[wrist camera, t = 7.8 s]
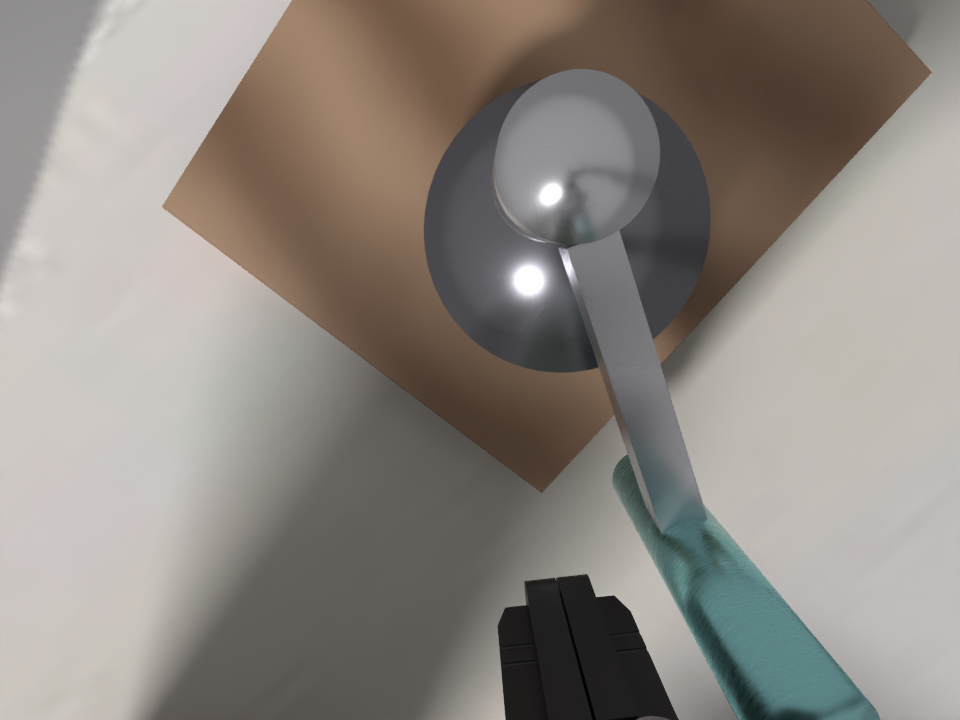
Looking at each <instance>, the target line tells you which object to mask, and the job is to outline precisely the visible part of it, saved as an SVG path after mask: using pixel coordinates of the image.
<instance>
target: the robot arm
mask: <svg viewBox="0 0 960 720" xmlns="http://www.w3.org/2000/svg"><path fill="white" fill-rule="evenodd" d="M524 584H525V596H526V605H525V606H516V607H507V608H505V610H504V612H503V614H502V617H501V619H500V622H499V624H498V635H499V647H500V659H501V670H502V682H503V694H504V705H505V717H506V720H679V719H678V718H677V716H676V714H675V711H674V709H673V707H672V705H671V702H670V700H669V698H668V695H667V693H666V691H665V689H664V686H663V684H662V682H661V680H660V677H659V675H658V673H657V670H656V668H655V666H654V664H653V661H652V659H651V657H650V655H649V652H648V651H647V649H646V645H645V643H644V641H643V639H642V636H641V635H640V633H639V630H638V627H637V625H636V623H635V620H634V618H633V616H632V614H631V611H630V610H629V609H628V608H627V607H626V606H624V605H623V604H622V603H621V602H620V601H619V600H618V599H617V598H616V597H615V596H605V597H596V596H595V593H594V590H593V587H592V585H591V582H590V579H589V577H588V575H587V574H585V575H576V576H567V577H558V578H556V580H555V578H550V579H540V580H531V581H525V582H524Z"/></svg>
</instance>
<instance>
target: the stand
mask: <svg viewBox="0 0 960 720" xmlns="http://www.w3.org/2000/svg"><path fill="white" fill-rule="evenodd" d="M572 69H590V70H597V71H601V72H605V73H608V74H610V75H612V76H615V77H617V78H618V79H620V80H622V81H623V82H625V83H626V84H628V85H629V86H630V87H631V88H632V89H634V90H635V91H636V92H638V93H640V94H641V95H643V96H645V97H646V98H648V99H650V100H651V101H653V102H654V103H655V104H656V105H658V106H659V107H660V108H661V109H662V110H664V111H665V112H666V113H667V114H668V115H669V116H670V117H671V118H672V119H673V120H674V122H675V123H676V124H677V125H678V126H679V127H680V128H681V130H682V131H683V133H684V134H685V136H686V137H687V139H688V140H689V141H690V143H691V144H692V147H693V149H694V151H695V153H696V155H697V157H698V159H699V161H700V163H701V166H702V169H703V172H704V175H705V178H706V182H707V187H708V193H709V198H710V211H711V226H710V239H709V244H708V249H707V254H706V259H705V262H704V265H703V268H702V271H701V274H700V277H699V279H698V281H697V283H696V285H695V287H694V289H693V291H692V293H691V295H690V297H689V298H688V300H687V301H686V303H685V305H684V306H683V308H682V309H681V311H680V312H679V313H678V314H677V316H676V317H675V318H674V319H673V320H672V322H671V323H670V324H669V325H668V326H667V327H666V328H665V329H664V330H663V331H662V332H661V333H660V334H659V335H658V336H657V337H656V338H654V339H653V342H654V345H655V349H656V352H657V355H658V358H659V362H660V365H661V364H662V363H663V361H664V360H665V359H666V358H667V357H668V356H669V355H670V354H671V353H672V352H673V351H674V350H675V349H676V347H677V346H678V345H679V344H680V343H681V342H682V341H683V340H684V339H685V338H686V337H687V336H688V335H689V333H690V332H691V331H692V330H693V329H694V328H695V327H696V326H697V325H698V324H699V323H700V322H701V321H702V319H703V318H704V317H705V316H706V315H707V314H708V313H709V312H710V311H711V310H712V309H713V308H714V307H715V305H716V304H717V303H718V302H719V301H720V300H721V299H722V298H723V297H724V296H725V295H726V294H727V293H728V291H729V290H730V289H731V288H732V287H733V286H734V285H735V284H736V283H737V282H738V281H739V280H740V279H741V277H742V276H743V275H744V274H745V273H746V272H747V271H748V270H749V269H750V268H751V267H752V266H753V265H754V263H755V262H756V261H757V260H758V259H759V258H760V257H761V256H762V255H763V254H764V253H765V252H766V251H767V249H768V248H769V247H770V246H771V245H772V244H773V243H774V242H775V241H776V240H777V239H778V238H779V236H780V235H781V234H782V233H783V232H784V231H785V230H786V229H787V228H788V227H789V226H790V225H791V224H792V222H793V221H794V220H795V219H796V218H797V217H798V216H799V215H800V214H801V213H802V212H803V211H804V210H805V208H806V207H807V206H808V205H809V204H810V203H811V202H812V201H813V200H814V199H815V198H816V197H817V196H818V194H819V193H820V192H821V191H822V190H823V189H824V188H825V187H826V186H827V185H828V184H829V183H830V182H831V180H832V179H833V178H834V177H835V176H836V175H837V174H838V173H839V172H840V171H841V170H842V169H843V168H844V166H845V165H846V164H847V163H848V162H849V161H850V160H851V159H852V158H853V157H854V156H855V155H856V154H857V152H858V151H859V150H860V149H861V148H862V147H863V146H864V145H865V144H866V143H867V142H868V141H869V140H870V138H871V137H872V136H873V135H874V134H875V133H876V132H877V131H878V130H879V129H880V128H881V127H882V126H883V124H884V123H885V122H886V121H887V120H888V119H889V118H890V117H891V116H892V115H893V114H894V113H895V112H896V110H897V109H898V108H899V107H900V106H901V105H902V104H903V103H904V102H905V101H906V100H907V99H908V97H909V96H910V95H911V94H912V93H913V92H914V91H915V90H916V89H917V88H918V87H919V86H920V85H921V83H922V82H923V81H924V80H925V79H926V78H927V77H928V76H929V75H930V74H931V73H932V72H931V71H930V70H929V69H928V68H927V66H926V65H925V64H924V63H923V62H922V61H921V60H920V59H919V58H918V57H917V55H916V54H915V53H914V52H913V51H912V50H911V49H910V48H909V47H908V45H907V44H906V43H905V42H904V41H903V40H902V39H901V38H900V37H899V36H898V34H897V33H896V32H895V31H894V30H893V29H892V28H891V27H890V26H889V25H888V23H887V22H886V21H885V20H884V19H883V18H882V17H881V16H880V15H879V14H878V12H877V11H876V10H875V9H874V8H873V7H872V6H871V5H870V4H869V3H868V1H867V0H292V1H291V3H290V5H289V6H288V8H287V9H286V11H285V13H284V14H283V16H282V17H281V19H280V20H279V22H278V24H277V25H276V27H275V28H274V30H273V32H272V33H271V35H270V36H269V38H268V39H267V41H266V43H265V44H264V46H263V47H262V49H261V51H260V52H259V54H258V55H257V57H256V59H255V60H254V62H253V63H252V65H251V66H250V68H249V70H248V71H247V73H246V74H245V76H244V78H243V79H242V81H241V82H240V84H239V85H238V87H237V89H236V90H235V92H234V93H233V95H232V97H231V98H230V100H229V101H228V103H227V104H226V106H225V108H224V109H223V111H222V112H221V114H220V116H219V117H218V119H217V120H216V122H215V123H214V125H213V127H212V128H211V130H210V131H209V133H208V135H207V136H206V138H205V139H204V141H203V142H202V144H201V146H200V147H199V149H198V150H197V152H196V154H195V155H194V157H193V158H192V160H191V162H190V163H189V165H188V166H187V168H186V169H185V171H184V173H183V174H182V176H181V177H180V179H179V181H178V182H177V184H176V185H175V187H174V188H173V190H172V192H171V193H170V195H169V196H168V198H167V200H166V201H165V203H164V204H163V206H162V207H163V208H164V209H165V210H167V211H168V212H169V213H171V214H172V215H173V216H175V217H176V218H177V219H179V220H180V221H181V222H183V223H184V224H185V225H187V226H188V227H189V228H191V229H192V230H193V231H195V232H196V233H197V234H199V235H200V236H201V237H203V238H204V239H205V240H206V241H208V242H209V243H210V244H212V245H213V246H214V247H216V248H217V249H218V250H220V251H221V252H222V253H224V254H225V255H226V256H228V257H229V258H230V259H232V260H233V261H234V262H236V263H237V264H238V265H240V266H241V267H242V268H244V269H245V270H246V271H248V272H249V273H250V274H252V275H253V276H254V277H256V278H257V279H258V280H260V281H261V282H262V283H264V284H265V285H266V286H268V287H269V288H270V289H272V290H273V291H274V292H276V293H277V294H278V295H280V296H281V297H282V298H284V299H285V300H286V301H288V302H289V303H290V304H292V305H293V306H294V307H296V308H297V309H298V310H300V311H301V312H302V313H303V314H305V315H306V316H307V317H309V318H310V319H311V320H313V321H314V322H315V323H317V324H318V325H319V326H321V327H322V328H323V329H325V330H326V331H327V332H329V333H330V334H331V335H333V336H334V337H335V338H337V339H338V340H339V341H341V342H342V343H343V344H345V345H346V346H347V347H349V348H350V349H351V350H353V351H354V352H355V353H357V354H358V355H359V356H361V357H362V358H363V359H365V360H366V361H367V362H369V363H370V364H371V365H373V366H374V367H375V368H377V369H378V370H379V371H381V372H382V373H383V374H385V375H386V376H387V377H389V378H390V379H391V380H393V381H394V382H395V383H397V384H398V385H399V386H400V387H402V388H403V389H404V390H406V391H407V392H408V393H410V394H411V395H412V396H414V397H415V398H416V399H418V400H419V401H420V402H422V403H423V404H424V405H426V406H427V407H428V408H430V409H431V410H432V411H434V412H435V413H436V414H438V415H439V416H440V417H442V418H443V419H444V420H446V421H447V422H448V423H450V424H451V425H452V426H454V427H455V428H456V429H458V430H459V431H460V432H462V433H463V434H464V435H466V436H467V437H468V438H470V439H471V440H472V441H474V442H475V443H476V444H478V445H479V446H480V447H482V448H483V449H484V450H486V451H487V452H488V453H490V454H491V455H492V456H494V457H495V458H496V459H497V460H499V461H500V462H501V463H503V464H504V465H505V466H507V467H508V468H509V469H511V470H512V471H513V472H515V473H516V474H517V475H519V476H520V477H521V478H523V479H524V480H525V481H527V482H528V483H529V484H531V485H532V486H533V487H535V488H536V489H537V490H539V491H540V492H541V493H542V492H543V491H544V490H545V489H546V488H547V486H548V485H549V484H550V483H551V482H552V481H553V480H554V479H555V478H556V477H557V476H558V475H559V474H560V472H561V471H562V470H563V469H564V468H565V467H566V466H567V465H568V464H569V463H570V462H571V461H572V460H573V458H574V457H575V456H576V455H577V454H578V453H579V452H580V451H581V450H582V449H583V448H584V447H585V446H586V444H587V443H588V442H589V441H590V440H591V439H592V438H593V437H594V436H595V435H596V434H597V433H598V432H599V430H600V429H601V428H602V427H603V426H604V425H605V424H606V423H607V422H608V421H609V420H610V419H611V418H612V416H613V415H614V411H613V408H612V405H611V402H610V399H609V396H608V393H607V391H606V388H605V385H604V382H603V379H602V376H601V373H600V370H599V368H595V369H591V370H585V371H579V372H566V373H554V372H543V371H537V370H532V369H528V368H523V367H520V366H518V365H515V364H512V363H509V362H507V361H505V360H503V359H501V358H499V357H497V356H495V355H493V354H491V353H490V352H488V351H487V350H485V349H484V348H482V347H481V346H480V345H478V344H477V343H476V342H474V341H473V340H472V339H471V338H470V337H469V336H468V335H467V334H466V333H465V332H463V330H462V329H461V328H460V327H459V326H458V324H457V323H456V322H455V321H454V320H453V319H452V317H451V316H450V314H449V313H448V311H447V310H446V308H445V306H444V305H443V303H442V301H441V299H440V297H439V295H438V293H437V291H436V289H435V287H434V284H433V281H432V278H431V275H430V272H429V269H428V264H427V259H426V254H425V246H424V216H425V208H426V202H427V197H428V192H429V189H430V186H431V183H432V180H433V177H434V174H435V171H436V169H437V167H438V165H439V163H440V161H441V159H442V156H443V154H444V153H445V151H446V150H447V148H448V147H449V145H450V144H451V142H452V140H453V139H454V137H455V136H456V135H457V134H458V133H459V131H460V130H461V129H462V128H463V127H464V126H465V124H466V123H467V122H468V121H469V120H470V119H471V118H472V117H474V116H475V115H476V114H477V113H478V112H479V111H480V110H481V109H482V108H484V107H485V106H487V105H488V104H489V103H491V102H492V101H494V100H495V99H497V98H498V97H500V96H502V95H504V94H506V93H507V92H509V91H511V90H513V89H515V88H517V87H520V86H523V85H526V84H529V83H532V82H535V81H538V80H542V79H544V78H546V77H548V76H550V75H553V74H556V73H559V72H562V71H567V70H572Z"/></svg>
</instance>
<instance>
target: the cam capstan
mask: <svg viewBox="0 0 960 720" xmlns="http://www.w3.org/2000/svg"><path fill="white" fill-rule="evenodd" d="M710 226H711V211H710V198H709V193H708V187H707V182H706V178H705V175H704V172H703V169H702V166H701V163H700V161H699V159H698V157H697V155H696V153H695V151H694V149H693V147H692V144H691V143H690V141H689V140H688V139H687V137H686V136H685V134H684V133H683V131H682V130H681V128H680V127H679V126H678V125H677V124H676V123H675V122H674V120H673V119H672V118H671V117H670V116H669V115H668V114H667V113H666V112H665V111H664V110H662V109H661V108H660V107H659V106H658V105H656V104H655V103H654V102H653V101H651V100H650V99H648V98H646V97H645V96H643V95H641V94H640V93H638V92H636V91H635V90H634V89H632V88H631V87H630V86H629V85H628V84H626V83H625V82H623V81H622V80H620V79H618V78H617V77H615V76H612V75H610V74H608V73H605V72H601V71H597V70H590V69H572V70H567V71H562V72H559V73H556V74H553V75H550V76H548V77H546V78H544V79H542V80H538V81H535V82H532V83H529V84H526V85H523V86H520V87H517V88H515V89H513V90H511V91H509V92H507V93H506V94H504V95H502V96H500V97H498V98H497V99H495V100H494V101H492V102H491V103H489V104H488V105H487V106H485V107H484V108H482V109H481V110H480V111H479V112H478V113H477V114H476V115H475V116H474V117H472V118H471V119H470V120H469V121H468V122H467V123H466V124H465V126H464V127H463V128H462V129H461V130H460V131H459V133H458V134H457V135H456V136H455V137H454V139H453V140H452V142H451V144H450V145H449V147H448V148H447V150H446V151H445V153H444V154H443V156H442V159H441V161H440V163H439V165H438V167H437V169H436V171H435V174H434V177H433V180H432V183H431V186H430V189H429V192H428V197H427V202H426V208H425V216H424V246H425V254H426V259H427V264H428V269H429V272H430V275H431V278H432V281H433V284H434V287H435V289H436V291H437V293H438V295H439V297H440V299H441V301H442V303H443V305H444V306H445V308H446V310H447V311H448V313H449V314H450V316H451V317H452V319H453V320H454V321H455V322H456V323H457V324H458V326H459V327H460V328H461V329H462V330H463V332H465V333H466V334H467V335H468V336H469V337H470V338H471V339H472V340H473V341H474V342H476V343H477V344H478V345H480V346H481V347H482V348H484V349H485V350H487V351H488V352H490V353H491V354H493V355H495V356H497V357H499V358H501V359H503V360H505V361H507V362H509V363H512V364H515V365H518V366H520V367H523V368H528V369H532V370H537V371H543V372H554V373H566V372H579V371H585V370H591V369H595V368H599V370H600V373H601V376H602V379H603V382H604V385H605V388H606V391H607V393H608V396H609V399H610V402H611V405H612V408H613V411H614V414H615V417H616V420H617V423H618V426H619V429H620V432H621V435H622V438H623V441H624V444H625V447H626V450H627V453H628V455H626V456H625V457H623V458H622V459H621V460H620V461H619V462H618V464H617V465H616V467H615V469H614V472H613V486H614V489H615V491H616V493H617V494H618V496H619V498H620V500H621V502H622V504H623V506H624V507H625V509H626V511H627V513H628V515H629V517H630V519H631V521H632V522H633V524H634V526H635V528H636V530H637V532H638V534H639V535H640V537H641V539H642V541H643V543H644V545H645V547H646V548H647V550H648V552H649V554H650V556H651V558H652V560H653V562H654V563H655V565H656V567H657V569H658V571H659V573H660V575H661V576H662V578H663V580H664V582H665V584H666V586H667V588H668V590H669V591H670V593H671V595H672V597H673V599H674V601H675V603H676V604H677V606H678V608H679V610H680V612H681V614H682V616H683V617H684V619H685V621H686V623H687V625H688V627H689V629H690V631H691V632H692V634H693V636H694V638H695V640H696V642H697V644H698V645H699V647H700V649H701V651H702V653H703V655H704V657H705V658H706V660H707V662H708V664H709V666H710V668H711V670H712V672H713V673H714V675H715V677H716V679H717V681H718V683H719V685H720V686H721V688H722V690H723V692H724V694H725V696H726V698H727V699H728V701H729V703H730V705H731V707H732V709H733V711H734V713H735V714H736V716H737V718H738V720H880V718H879V715H878V713H877V711H876V709H875V708H874V707H873V706H872V704H871V703H870V702H869V701H868V699H867V698H866V697H865V696H864V695H863V694H862V692H861V691H860V690H859V689H858V688H857V686H856V685H855V684H854V683H853V682H852V680H851V679H850V678H849V677H848V676H847V674H846V673H845V672H844V671H843V670H842V668H841V667H840V666H839V665H838V664H837V662H836V661H835V660H834V659H833V658H832V657H831V655H830V654H829V653H828V652H827V651H826V649H825V648H824V647H823V646H822V645H821V643H820V642H819V641H818V640H817V639H816V637H815V636H814V635H813V634H812V633H811V631H810V630H809V629H808V628H807V627H806V626H805V624H804V623H803V622H802V621H801V620H800V618H799V617H798V616H797V615H796V614H795V612H794V611H793V610H792V609H791V608H790V606H789V605H788V604H787V603H786V602H785V600H784V599H783V598H782V597H781V596H780V594H779V593H778V592H777V591H776V590H775V589H774V587H773V586H772V585H771V584H770V583H769V581H768V580H767V579H766V578H765V577H764V575H763V574H762V573H761V572H760V571H759V569H758V568H757V567H756V566H755V565H754V563H753V562H752V561H751V560H750V559H749V558H748V556H747V555H746V554H745V553H744V552H743V550H742V549H741V548H740V547H739V546H738V544H737V543H736V542H735V541H734V540H733V538H732V537H731V536H730V535H729V534H728V532H727V531H726V530H725V529H724V528H723V526H722V525H721V524H720V523H719V522H718V521H717V519H716V518H715V517H714V516H713V515H712V513H711V512H710V511H709V510H708V509H707V507H706V506H705V505H704V504H703V502H702V499H701V496H700V492H699V489H698V486H697V483H696V479H695V476H694V473H693V470H692V466H691V463H690V460H689V456H688V453H687V450H686V447H685V443H684V440H683V437H682V434H681V430H680V427H679V424H678V421H677V417H676V414H675V411H674V407H673V404H672V401H671V398H670V394H669V391H668V388H667V385H666V381H665V378H664V375H663V371H662V368H661V365H660V362H659V358H658V355H657V352H656V349H655V345H654V342H653V339H654V338H656V337H657V336H658V335H659V334H660V333H661V332H662V331H663V330H664V329H665V328H666V327H667V326H668V325H669V324H670V323H671V322H672V320H673V319H674V318H675V317H676V316H677V314H678V313H679V312H680V311H681V309H682V308H683V306H684V305H685V303H686V301H687V300H688V298H689V297H690V295H691V293H692V291H693V289H694V287H695V285H696V283H697V281H698V279H699V277H700V274H701V271H702V268H703V265H704V262H705V259H706V254H707V249H708V244H709V239H710Z"/></svg>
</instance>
